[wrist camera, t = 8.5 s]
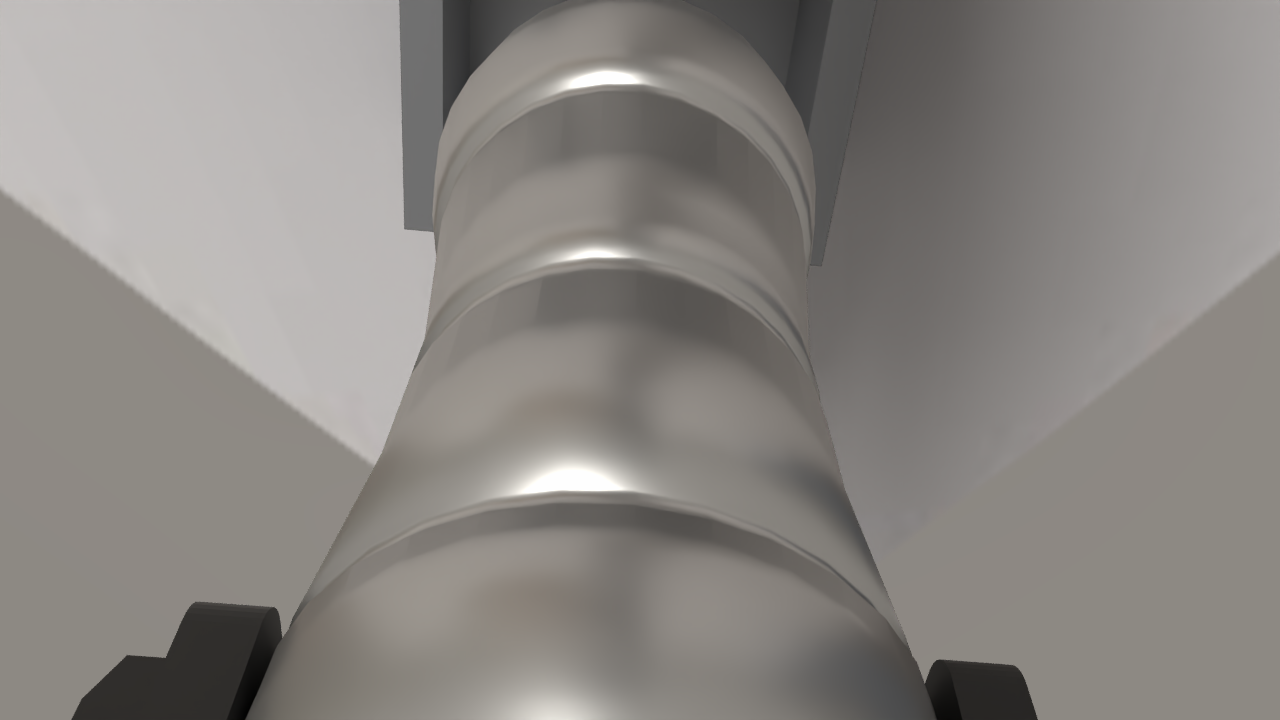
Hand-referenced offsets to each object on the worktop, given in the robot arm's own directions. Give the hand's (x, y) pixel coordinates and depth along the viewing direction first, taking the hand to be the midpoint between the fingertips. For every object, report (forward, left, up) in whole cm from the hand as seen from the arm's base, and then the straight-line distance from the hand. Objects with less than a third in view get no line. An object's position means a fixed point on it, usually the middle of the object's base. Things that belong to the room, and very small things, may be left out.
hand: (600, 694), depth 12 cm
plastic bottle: (0, 0, -13) cm, 13 cm away
